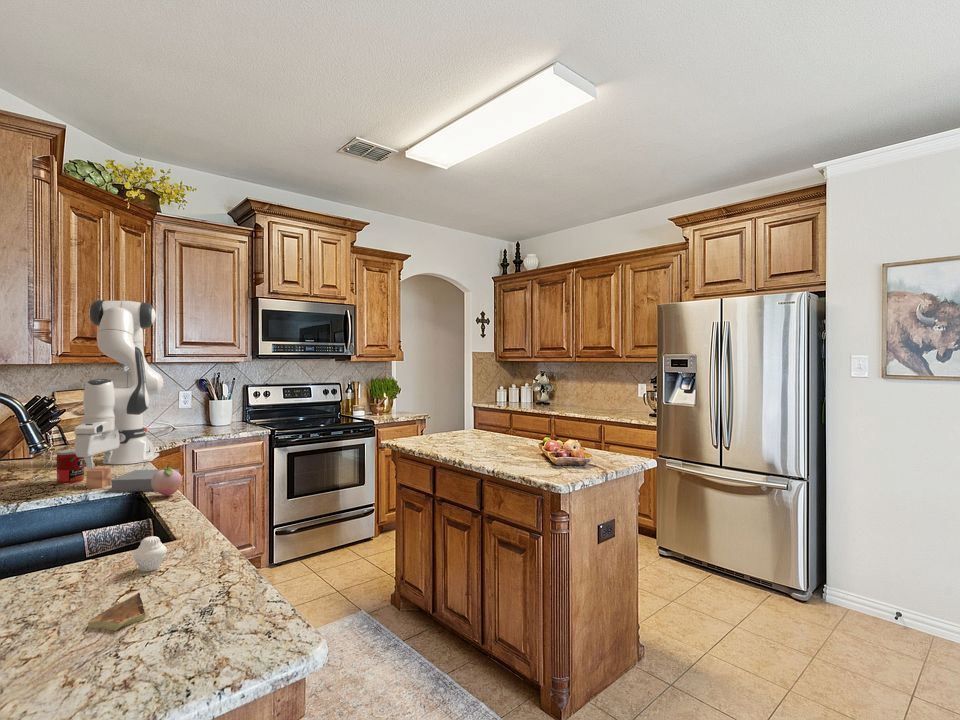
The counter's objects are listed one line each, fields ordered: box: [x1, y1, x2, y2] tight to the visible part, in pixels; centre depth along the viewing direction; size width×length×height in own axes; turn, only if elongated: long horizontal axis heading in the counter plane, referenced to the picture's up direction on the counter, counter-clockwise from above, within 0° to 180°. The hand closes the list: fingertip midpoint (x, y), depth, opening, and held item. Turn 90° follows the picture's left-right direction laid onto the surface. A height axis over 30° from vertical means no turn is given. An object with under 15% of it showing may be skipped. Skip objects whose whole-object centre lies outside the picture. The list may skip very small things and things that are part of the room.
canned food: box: [56, 448, 85, 484], centre depth 185 cm, size 8×8×11 cm
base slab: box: [111, 468, 180, 493], centre depth 180 cm, size 15×15×4 cm
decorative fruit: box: [151, 465, 183, 498], centre depth 166 cm, size 9×8×10 cm
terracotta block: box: [85, 467, 112, 489], centre depth 178 cm, size 5×5×6 cm
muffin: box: [132, 535, 168, 573], centre depth 110 cm, size 6×6×7 cm
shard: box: [87, 592, 147, 631], centre depth 91 cm, size 11×8×2 cm
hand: (98, 465), depth 178 cm, fingers open, 8 cm apart
